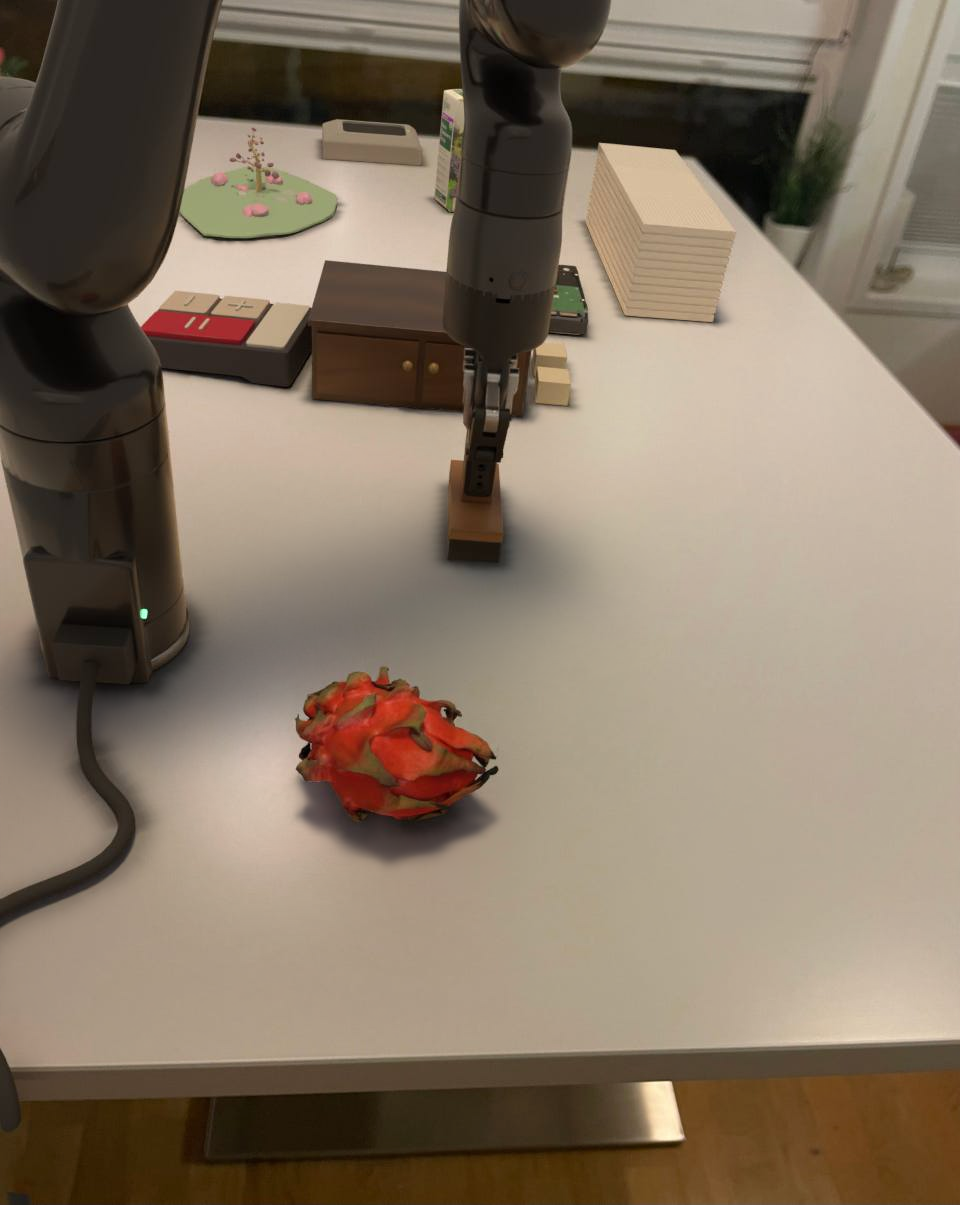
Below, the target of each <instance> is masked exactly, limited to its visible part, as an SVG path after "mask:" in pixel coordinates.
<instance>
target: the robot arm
mask: <svg viewBox="0 0 960 1205" xmlns="http://www.w3.org/2000/svg"><path fill="white" fill-rule="evenodd" d="M223 1H224V0H57V2H56V3H57V4H56V8H55V12H54V16H53V19H52V23H51V27H50V31H49V35H48V38H47V42H46V46H45V50H44V53H43V58H42V61H41V64H40V69H39V72H38V74H37V78H36V81H32V80H29V79H24V78H20V77H12V76H0V462H1V466H2V471H3V475H4V480H5V484H6V489H7V494H8V497H9V504H10V507H11V512H12V517H13V520H14V521H13V522H14V525H15V526H14V527H15V530H16V536H17V538H18V543H19V547H20V552H21V556H22V557H21V558H22V564H23V569H24V573H25V577H26V582H27V587H28V590H29V596H30V601H31V604H32V609H33V614H34V618H35V623H36V627H37V635H38V640H39V644H40V650H41V652H42V654H43V658H44V663H45V667H46V671H47V676H48V677H49V678H57V679H58V680H60V681H72V682H80V684H79V689H78V694H77V703H76V717H75V718H76V724H75V725H76V727H75V730H76V731H75V732H76V737H75V738H76V746H77V752H78V757H79V760H80V764H81V766H82V769H83V771H84V773H85V775H86V777H87V778H88V780H89V782H90V783H91V784H92V786H93V787H94V789H96V791H97V792H98V793H99V794H100V795H101V796H102V797H103V798H104V799H105V800H106V802H108V804H109V805H110V806H111V807H112V808H113V810H114V811H115V813H116V815H117V820H118V822H117V824H118V825H117V830H116V833H115V835H114V837H113V838H112V840H111V842H110V844H108V845H107V847H106V848H104V849H103V850H102V851H101V852H100V853H98V854H97V855H96V856H94V857H93V858H91V859H90V860H88V861H86V862H84V863H82V864H80V865H78V866H76V867H74V868H72V869H69V870H66V871H65V872H62V873H60V874H57V875H54V876H52V877H49V878H47V879H44V880H41V881H39V882H36V883H34V884H31V885H28V886H26V887H23V888H21V889H18V890H15V891H14V892H12V893H10V894H8V895H6V896H4V897H1V898H0V920H1V919H2V918H4V917H6V916H8V915H9V914H11V913H14V912H16V911H17V910H19V909H22V908H23V907H26V906H28V905H31V904H33V903H35V902H38V901H40V900H44V899H46V898H48V897H51V896H54V895H56V894H59V893H62V892H64V891H66V890H69V889H72V888H73V887H76V886H79V885H81V884H83V883H85V882H87V881H89V880H91V879H92V878H94V877H96V876H98V875H99V874H101V873H102V872H104V871H106V869H108V868H110V867H111V866H112V865H113V864H114V863H115V862H116V861H117V860H118V859H119V858H121V856H123V854H124V853H125V850H126V848H127V847H128V846H129V844H130V841H131V840H132V837H133V834H134V831H135V828H136V826H135V824H136V822H135V821H136V816H135V813H134V810H133V808H132V806H131V803H130V802H129V800H128V798H127V797H126V796H125V795H124V794H123V793H122V792H121V791H120V789H119V788H118V787H117V786H116V785H115V784H114V783H113V782H112V781H111V780H110V779H109V777H108V776H107V774H105V773H104V771H103V770H102V768H101V767H100V764H99V762H98V761H97V757H96V754H95V749H94V744H93V734H92V730H93V729H92V728H93V727H92V726H93V724H92V723H93V721H92V719H93V702H94V695H95V690H96V685H97V684H96V683H104V684H117V685H118V684H120V685H130V684H131V683H138V684H144V683H147V682H148V681H149V679H150V676H151V674H152V673H153V671H155V670H157V669H158V668H160V667H162V666H164V665H166V664H167V663H168V662H170V661H171V660H172V659H173V658H174V657H175V656H177V655H178V654H179V653H180V651H181V650H182V649H183V648H184V646H185V644H186V642H187V641H188V638H189V634H190V618H189V617H190V616H189V612H188V607H187V605H186V604H187V603H186V595H185V594H186V593H185V584H184V576H183V566H182V557H181V556H182V555H181V548H180V547H181V546H180V537H179V536H180V535H179V526H178V516H177V508H176V498H175V487H174V477H173V467H172V459H171V458H172V457H171V447H170V445H171V444H170V434H169V423H168V414H167V405H166V395H165V384H164V376H163V375H164V374H163V368H162V367H161V363H160V360H159V357H158V354H157V352H156V350H155V348H154V347H153V345H152V344H151V342H150V340H149V339H148V337H147V336H146V334H145V333H144V332H143V330H142V329H141V325H140V324H139V323H138V321H137V319H136V318H135V316H134V314H133V312H132V310H131V308H130V307H129V306H130V305H129V304H130V303H131V302H132V301H134V300H135V299H136V298H138V297H139V296H140V295H141V294H142V293H143V292H144V290H146V288H147V287H148V286H149V285H150V284H151V282H152V281H153V280H154V278H155V277H156V275H157V273H158V272H159V270H160V268H161V267H162V265H163V263H164V261H165V260H166V257H167V254H168V252H169V250H170V247H171V244H172V242H173V238H174V235H175V231H176V227H177V223H178V220H179V216H180V208H181V203H182V198H183V193H184V190H185V189H186V188H185V186H186V182H187V176H188V171H189V165H190V160H191V154H192V149H193V143H194V137H195V132H196V127H197V120H198V115H199V109H200V104H201V98H202V93H203V88H204V84H205V77H206V73H207V67H208V63H209V57H210V54H211V48H212V44H213V40H214V35H215V31H216V27H217V25H218V24H217V23H218V20H219V16H220V11H221V9H222V4H223ZM458 2H459V3H458V38H459V57H460V58H459V61H460V75H461V76H460V77H461V89H462V92H463V102H464V130H463V135H462V142H461V150H460V151H461V153H460V164H459V176H458V188H457V197H456V204H455V209H454V212H453V214H452V218H451V223H450V228H449V236H448V248H447V249H448V250H447V259H446V260H447V262H446V271H445V272H446V283H445V295H444V308H443V320H442V323H443V328H444V330H445V332H446V333H447V334H448V336H449V337H450V338H452V339H453V340H454V341H455V342H457V343H459V344H461V345H463V346H465V347H470V348H464V354H463V372H464V373H463V404H464V409H463V412H462V423H463V426H464V427H465V430H467V428H468V438H467V444H466V442H464V443H465V444H464V451H465V450H466V455H467V458H466V468H465V477H464V493H465V495H467V496H475V497H489V496H490V495H491V494H492V489H493V481H494V473H495V466H496V463H498V464H500V463H501V462H502V459H503V458H504V450H505V445H506V441H507V435H508V432H509V428H510V426H511V425H510V424H511V422H512V418H513V416H512V414H511V410H512V402H513V396H514V394H515V393H516V392H517V390H518V382H519V368H517V359H518V354H519V353H522V352H528V351H531V350H532V351H533V350H534V349H536V348H537V347H539V346H540V345H542V344H543V343H544V342H546V340H547V338H548V335H549V332H548V331H549V324H550V318H551V311H552V305H553V298H554V292H555V285H556V278H557V272H558V265H560V257H561V251H562V242H563V216H564V207H565V200H566V194H567V187H568V180H569V173H570V167H571V166H570V165H571V160H572V154H573V125H572V122H571V120H570V119H571V118H570V116H569V115H568V112H567V110H566V108H565V106H564V104H563V101H562V94H561V77H562V69H566V68H569V67H571V66H573V65H575V64H577V63H579V62H580V61H582V60H583V59H584V58H586V57H587V56H588V55H589V54H590V53H591V51H592V50H593V49H594V48H595V47H596V45H597V44H598V43H599V41H600V39H601V37H602V35H603V33H604V31H605V29H606V26H607V24H608V20H609V16H610V13H611V7H612V0H459V1H458ZM532 351H531V352H532ZM20 1107H21V1106H20V1101H19V1096H18V1091H17V1086H16V1084H15V1081H14V1076H13V1072H12V1070H11V1068H10V1066H9V1063H8V1061H7V1057H6V1055H5V1054H4V1052H3V1050H2V1048H1V1047H0V1128H1V1129H2V1131H4V1133H12V1132H14V1131H15V1130H17V1129H18V1128H19V1126H20V1124H21V1121H22V1113H21V1108H20ZM6 1195H7V1200H8V1205H32V1202H31V1201H32V1200H31V1198H30V1195H29V1194H26V1193H20V1192H14V1191H6Z"/></svg>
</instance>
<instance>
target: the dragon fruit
mask: <svg viewBox="0 0 960 1205" xmlns="http://www.w3.org/2000/svg"><path fill="white" fill-rule="evenodd" d="M389 671H390V670H389V667H387V666H380V667H379V672H378V677H377V678H376V680H372V677H371V675H370V674H369V672H366V671H361V670H360V671H353V672H351V673H349V674H348V675H347V678H346V680H345V681H343V680H342V681H336V680H335V681H332V682H331V683H329V684H328V685H325V686H324V687H323V688H321V689H319V690H316V691H314V692H312V693H308V694H307V696H306V699H305V700H304V702H303V708H302V711H303V714H304V715H305V716H306V717H307V720H303V719H301V718H300V714H299V713H297V715H296V717H295V718H294V721H295V731H296V734H297V735H298V737H299V738H300V739H301V740H303V741H305V742H307V744H306V745H304V746H302V748H301V750H300V752H299V754H298V758H299V759H300V760H301V761H300V762H298V764H297V765H296V766H295V771H296V772H297V773H298V775H300V776H301V778H302V780H303V781H304V782H305V783H315V782H317V783H319V782H322V781H325V782H328V784H330V786H331V788H332V789H333V790H334V792H335V793H336V795H337V797H338V798H339V800H340V801H341V806H342V808H343V810H344V811H345V813H346V814H347V815H348V817H349V818H350V820H351V821H353V822H356V823H361V822H363V820H364V819H366V817H367V816H368V813H367V812H372V813H374V814H378V815H381V816H388V817H393V819H395V820H399V821H402V820H409V822H418V821H421V820H427V819H431V818H434V817H438V816H444V815H445V814H446V813H447V812H448V811H449V808H448V807H449V806H451V805H452V804H454V803H455V802H457V801H458V800H460V799H462V798H463V797H465V796H467V795H469V794H472V793H474V792H476V791H478V790H479V789H480V788H482V787H483V786H484V785H485V784H486V783H487V782H488V781H489V780H490V778H491V776H495V775H497V774H498V772H499V770H500V769H499V766H498V765H495V766H493V767H491V768H489V769H486V768H487V766H488V765H489V763H490V760H492V761H494V760H495V761H496V760H497V758H498V756H496V755H495V753H494V751H493V750H492V749H491V747H490V746H489V743H488V742H487V741H486V740H485V739H483V738H482V737H481V736H480V735H477V734H475V733H473V732H470V731H468V730H466V729H464V728H462V727H459V726H456V724H455V720H456V719H457V717H460V718H462V717H463V713H462V712H461V710H459V709H457V707H456V704H455V703H453V702H452V701H451V700H447V699H437V700H426V699H423V698H420V696H421V694H420V693H421V692H420V689H419V686H417V685H415V686H412V687H411V685H410V683H409V682H408V681H407V680H406V679H403V678H397V679H393V681H391V682H390V677H389ZM442 708H443V711H444V713H445V716H446V717H445V716H443V714H442ZM497 747H498V748H497V750H496V751H499V746H497ZM474 759H475V760H476V761H477V762H478V763H477V762H475V761H473V760H474ZM479 764H480V765H479ZM479 775H480V776H479ZM477 777H478V778H477ZM366 811H367V812H366Z"/></svg>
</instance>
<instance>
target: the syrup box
mask: <svg viewBox="0 0 960 1205" xmlns="http://www.w3.org/2000/svg"><path fill="white" fill-rule="evenodd" d="M463 130H464V102H463V92H462V88H452V89H444V90H443V99H442V108H441V119H440V131H439V142H438V152H437V162H436V175H435V186H434V187H435V188H434V201H437V202H438V203H439V204H440V205H441V206H443V208H445V209H446V210H447V211H448V212H449V213H452V212H453V213H454V209H455V204H456V197H457V188H458V176H459V164H460V153H461V151H460V150H461V142H462V135H463Z"/></svg>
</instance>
